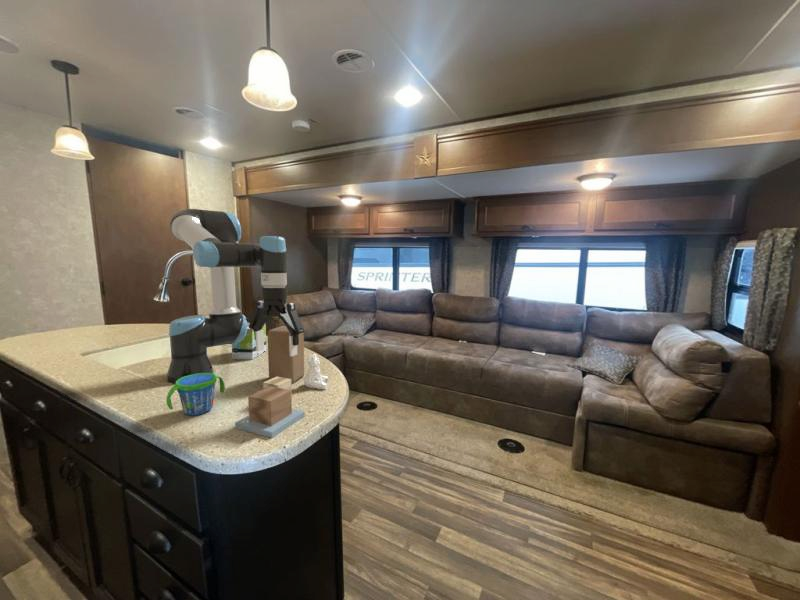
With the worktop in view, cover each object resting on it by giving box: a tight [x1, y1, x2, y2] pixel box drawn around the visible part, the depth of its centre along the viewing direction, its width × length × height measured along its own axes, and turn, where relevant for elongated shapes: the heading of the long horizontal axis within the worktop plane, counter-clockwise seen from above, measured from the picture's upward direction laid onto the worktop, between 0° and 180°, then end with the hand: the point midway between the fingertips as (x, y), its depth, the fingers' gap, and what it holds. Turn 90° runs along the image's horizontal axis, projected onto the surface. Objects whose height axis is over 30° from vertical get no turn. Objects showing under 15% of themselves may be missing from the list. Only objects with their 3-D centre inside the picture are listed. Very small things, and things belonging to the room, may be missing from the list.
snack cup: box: [166, 373, 226, 416], centre depth 99 cm, size 16×10×10 cm
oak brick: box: [262, 377, 293, 398], centre depth 106 cm, size 6×6×7 cm
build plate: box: [234, 408, 306, 439], centre depth 93 cm, size 13×13×2 cm
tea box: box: [231, 322, 267, 361], centre depth 156 cm, size 15×10×15 cm, turn 179°
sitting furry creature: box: [303, 353, 329, 391], centre depth 120 cm, size 10×9×12 cm
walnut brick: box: [247, 386, 293, 426], centre depth 93 cm, size 8×8×7 cm
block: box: [266, 325, 305, 385], centre depth 125 cm, size 10×10×20 cm
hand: (276, 352), depth 105 cm, fingers open, 13 cm apart
